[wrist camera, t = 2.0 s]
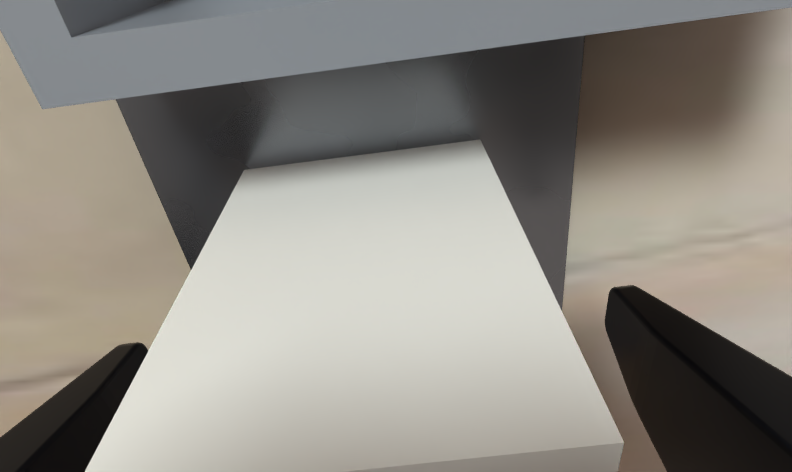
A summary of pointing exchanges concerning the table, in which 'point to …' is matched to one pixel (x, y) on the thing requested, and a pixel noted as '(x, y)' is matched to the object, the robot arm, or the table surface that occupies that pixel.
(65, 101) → the bin
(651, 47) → the table surface
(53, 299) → the table surface
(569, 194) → the stud plate
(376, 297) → the cream rectangular block
